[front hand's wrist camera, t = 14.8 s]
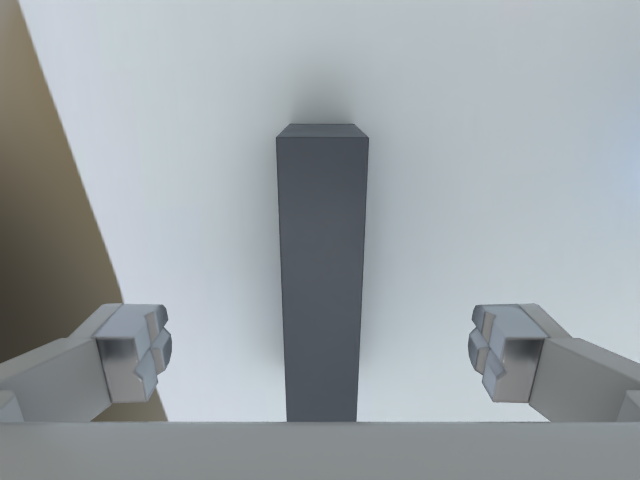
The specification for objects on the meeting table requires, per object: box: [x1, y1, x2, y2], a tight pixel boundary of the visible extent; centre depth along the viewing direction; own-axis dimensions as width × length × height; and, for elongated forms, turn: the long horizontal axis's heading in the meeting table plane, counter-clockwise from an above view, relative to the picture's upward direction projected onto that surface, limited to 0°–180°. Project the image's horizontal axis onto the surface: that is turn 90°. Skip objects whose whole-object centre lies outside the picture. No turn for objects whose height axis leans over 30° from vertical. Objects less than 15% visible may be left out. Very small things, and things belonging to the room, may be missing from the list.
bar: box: [276, 124, 369, 422], centre depth 29 cm, size 23×5×10 cm, turn 0°
